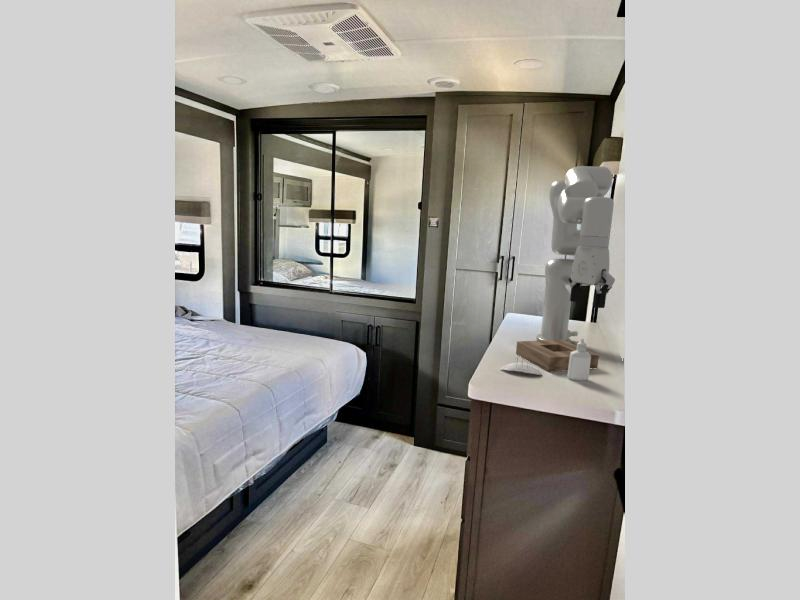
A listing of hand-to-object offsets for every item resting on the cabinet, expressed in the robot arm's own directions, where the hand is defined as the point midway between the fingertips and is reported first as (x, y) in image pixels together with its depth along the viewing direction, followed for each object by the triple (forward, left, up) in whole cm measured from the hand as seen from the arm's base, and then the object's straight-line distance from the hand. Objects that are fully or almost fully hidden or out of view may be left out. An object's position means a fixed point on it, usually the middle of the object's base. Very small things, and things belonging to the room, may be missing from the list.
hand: (586, 304), depth 125 cm
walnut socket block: (-4, -16, -22) cm, 28 cm away
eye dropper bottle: (0, 0, -22) cm, 22 cm away
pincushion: (+14, -8, -23) cm, 28 cm away
